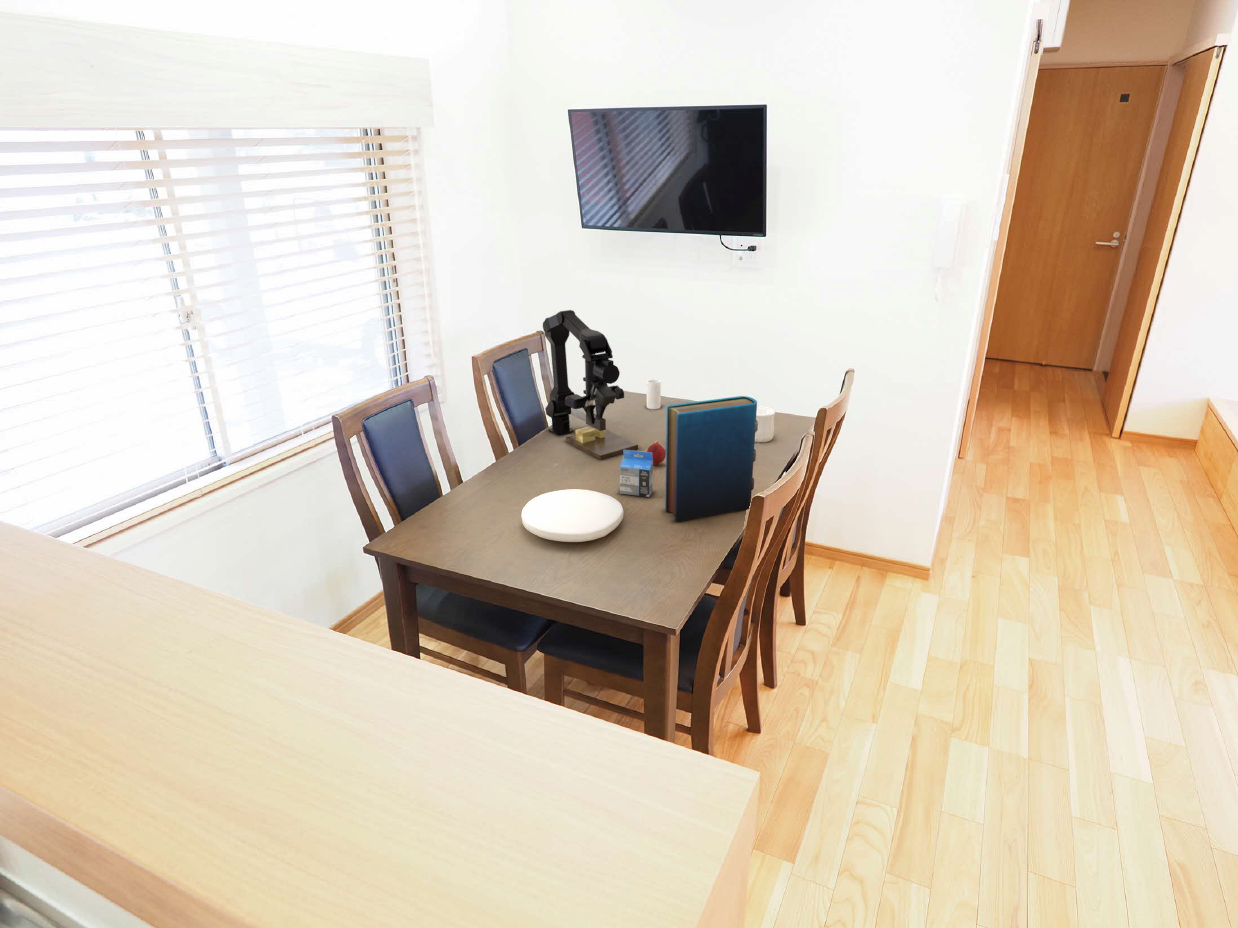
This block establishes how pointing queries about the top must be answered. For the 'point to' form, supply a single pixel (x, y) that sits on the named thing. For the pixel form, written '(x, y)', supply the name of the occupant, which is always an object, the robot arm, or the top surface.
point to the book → (710, 457)
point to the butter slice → (599, 433)
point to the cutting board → (600, 443)
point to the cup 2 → (764, 424)
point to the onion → (657, 453)
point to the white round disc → (572, 515)
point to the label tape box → (636, 473)
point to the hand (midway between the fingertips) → (595, 423)
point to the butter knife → (598, 421)
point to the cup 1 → (653, 394)
